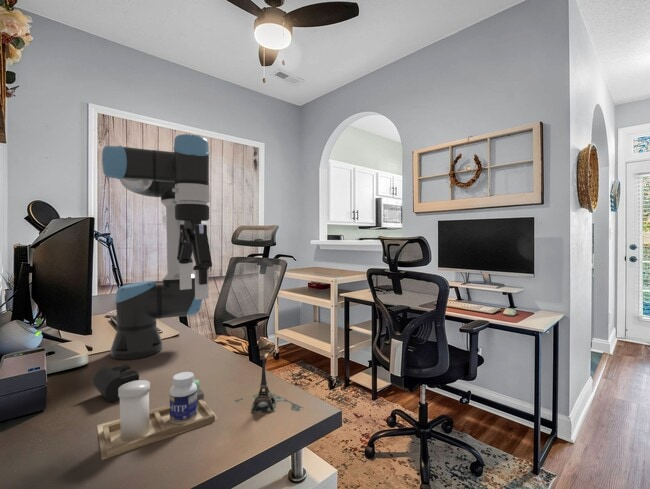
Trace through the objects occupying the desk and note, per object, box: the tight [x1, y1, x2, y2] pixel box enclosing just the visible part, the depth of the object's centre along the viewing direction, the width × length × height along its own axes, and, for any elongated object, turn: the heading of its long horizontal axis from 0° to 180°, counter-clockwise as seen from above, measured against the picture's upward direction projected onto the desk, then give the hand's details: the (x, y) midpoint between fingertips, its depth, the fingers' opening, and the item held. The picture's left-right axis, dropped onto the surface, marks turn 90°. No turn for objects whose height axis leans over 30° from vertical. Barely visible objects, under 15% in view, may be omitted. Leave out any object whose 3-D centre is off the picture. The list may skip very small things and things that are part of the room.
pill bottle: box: [169, 371, 197, 424], centre depth 68 cm, size 5×5×9 cm
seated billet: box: [118, 379, 151, 442], centre depth 63 cm, size 5×5×9 cm
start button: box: [193, 379, 200, 390], centre depth 76 cm, size 3×3×4 cm
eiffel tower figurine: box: [234, 350, 304, 414], centre depth 76 cm, size 15×10×13 cm
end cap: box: [92, 364, 140, 404], centre depth 80 cm, size 10×7×7 cm
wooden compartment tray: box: [96, 387, 220, 461], centre depth 67 cm, size 13×20×3 cm, turn 127°
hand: (193, 293), depth 79 cm, fingers open, 13 cm apart
